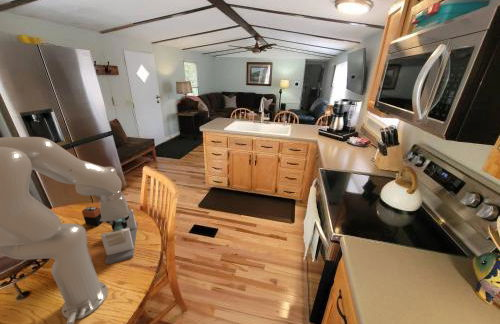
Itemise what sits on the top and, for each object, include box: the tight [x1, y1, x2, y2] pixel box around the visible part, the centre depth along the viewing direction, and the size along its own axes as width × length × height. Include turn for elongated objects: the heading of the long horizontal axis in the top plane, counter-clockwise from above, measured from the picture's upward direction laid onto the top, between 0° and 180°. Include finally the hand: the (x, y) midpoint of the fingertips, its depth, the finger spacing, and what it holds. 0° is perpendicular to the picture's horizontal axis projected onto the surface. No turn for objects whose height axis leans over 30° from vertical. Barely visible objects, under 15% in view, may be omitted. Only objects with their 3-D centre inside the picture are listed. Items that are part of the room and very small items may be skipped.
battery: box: [81, 206, 103, 227], centre depth 107 cm, size 4×7×10 cm, turn 84°
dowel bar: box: [105, 219, 125, 247], centre depth 94 cm, size 20×6×6 cm, turn 23°
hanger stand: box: [100, 208, 138, 265], centre depth 95 cm, size 24×10×12 cm, turn 23°
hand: (120, 228), depth 94 cm, fingers closed on dowel bar, 3 cm apart
